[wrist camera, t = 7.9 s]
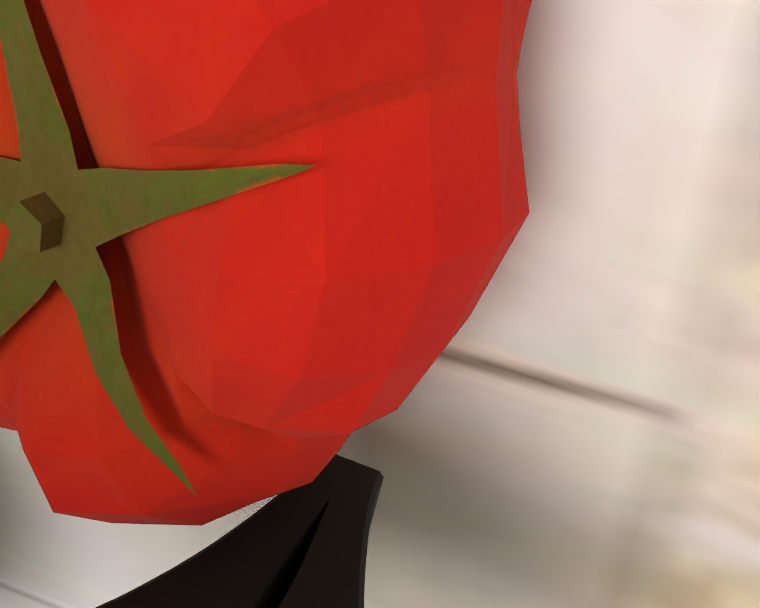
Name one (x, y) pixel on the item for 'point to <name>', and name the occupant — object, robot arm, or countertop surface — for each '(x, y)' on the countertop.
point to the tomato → (239, 232)
